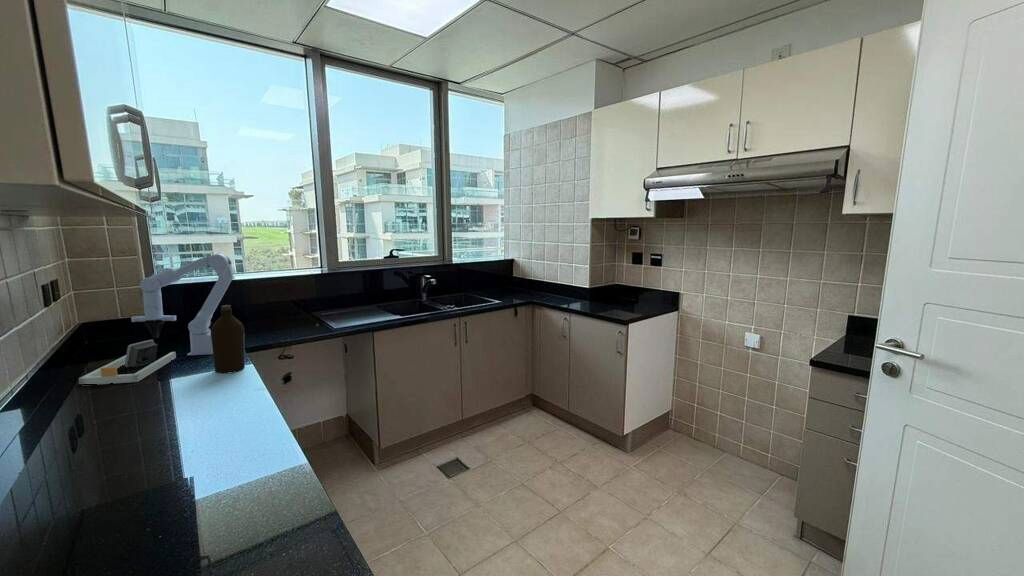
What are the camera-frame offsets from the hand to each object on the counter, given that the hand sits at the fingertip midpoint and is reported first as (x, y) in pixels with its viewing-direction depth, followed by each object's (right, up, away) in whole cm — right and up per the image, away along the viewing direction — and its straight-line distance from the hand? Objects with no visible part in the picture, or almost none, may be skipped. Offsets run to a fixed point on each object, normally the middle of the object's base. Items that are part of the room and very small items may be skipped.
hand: (155, 338), depth 172 cm
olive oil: (+39, -11, -12) cm, 43 cm away
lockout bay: (+5, -10, -17) cm, 20 cm away
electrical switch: (+3, -9, -9) cm, 14 cm away
